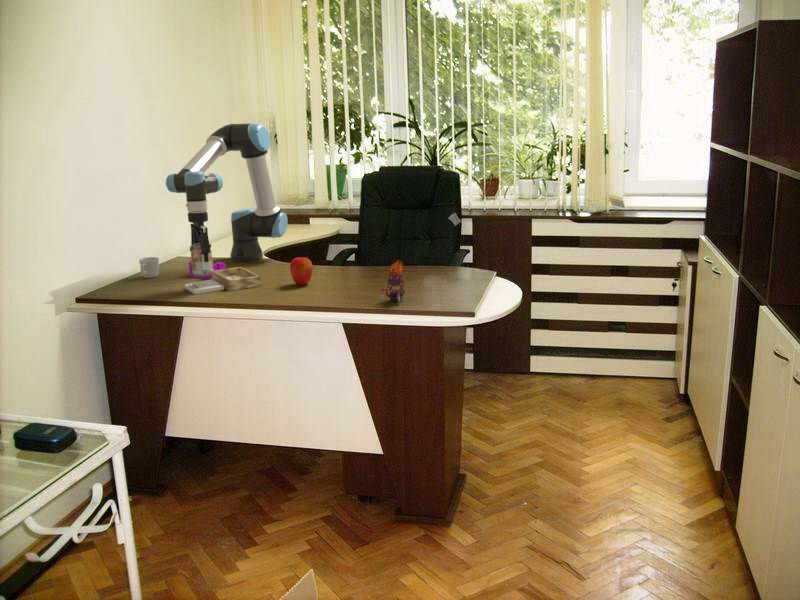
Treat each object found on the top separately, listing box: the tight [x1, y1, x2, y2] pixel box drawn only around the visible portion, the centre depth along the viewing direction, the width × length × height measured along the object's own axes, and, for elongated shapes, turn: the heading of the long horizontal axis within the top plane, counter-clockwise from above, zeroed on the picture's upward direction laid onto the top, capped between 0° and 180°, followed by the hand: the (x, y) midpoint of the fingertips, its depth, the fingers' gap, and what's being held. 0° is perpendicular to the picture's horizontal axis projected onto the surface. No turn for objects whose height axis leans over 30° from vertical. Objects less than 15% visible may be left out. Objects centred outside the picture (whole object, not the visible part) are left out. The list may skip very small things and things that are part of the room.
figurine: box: [378, 259, 406, 302], centre depth 287 cm, size 8×9×15 cm
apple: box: [289, 255, 314, 286], centre depth 317 cm, size 9×9×12 cm
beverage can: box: [189, 243, 213, 276], centre depth 312 cm, size 9×8×12 cm
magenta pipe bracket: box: [188, 260, 227, 280], centre depth 339 cm, size 16×10×6 cm, turn 53°
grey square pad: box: [190, 279, 217, 289], centre depth 315 cm, size 8×8×1 cm
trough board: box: [210, 266, 263, 292], centre depth 323 cm, size 14×22×4 cm, turn 31°
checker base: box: [184, 281, 225, 295], centre depth 315 cm, size 12×12×2 cm
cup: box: [139, 256, 160, 279], centre depth 337 cm, size 11×8×8 cm
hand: (202, 267), depth 313 cm, fingers closed on beverage can, 9 cm apart
